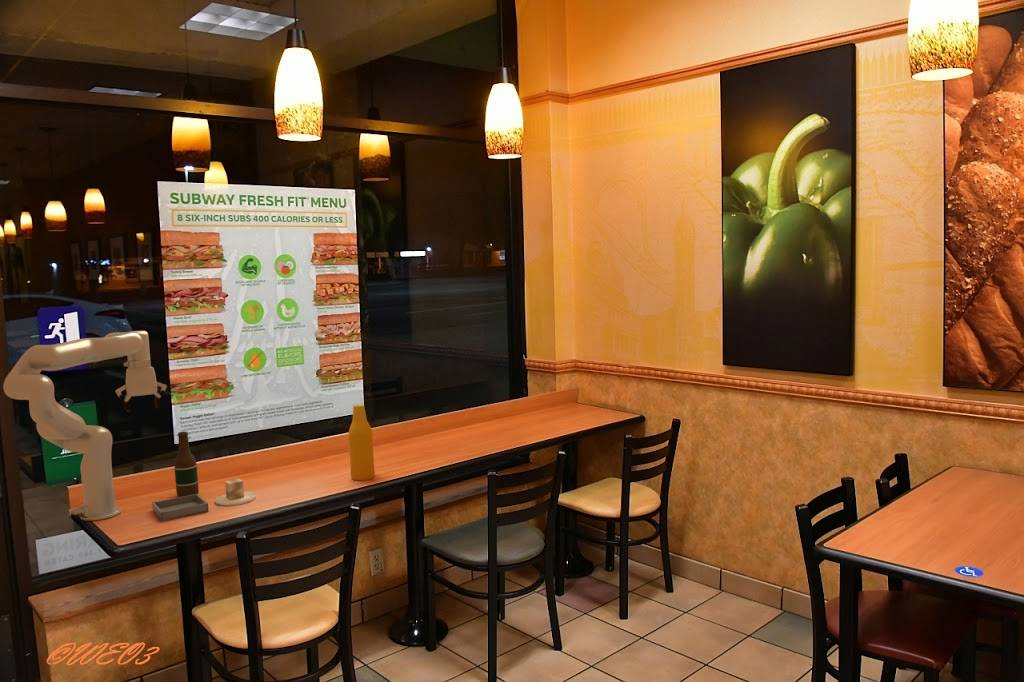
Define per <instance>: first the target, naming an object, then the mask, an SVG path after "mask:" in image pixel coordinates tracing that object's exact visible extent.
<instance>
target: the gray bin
mask: <svg viewBox="0 0 1024 682" xmlns="http://www.w3.org/2000/svg"><path fill="white" fill-rule="evenodd" d="M151 506H152V508H151V509H152V511H153V513H154V514H155V515H156V516H157V517H158V519H159V520H160V521H161V522H163V521H164V522H165V521H170V520H174V519H179V518H180V519H181V518H184V517H189V516H193V515H199V514H204V513H208V512H209V502H207V501H206V500H205V499H204V498H202V497H201V496H200V495H199V493H198V494H193V495H188V496H183V497H178V496H177V497H173V498H168V499H167V498H166V499H164V500H159V501H153V502H151Z"/></svg>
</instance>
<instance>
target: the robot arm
mask: <svg viewBox="0 0 1024 682" xmlns="http://www.w3.org/2000/svg"><path fill="white" fill-rule="evenodd" d="M150 350H151V349H150V341H149V333H148V332H147V331H146V330H131V331H127V332H123V331H122V332H121V331H120V332H119V331H118V332H110V333H107V334H106V335H105V336H104V337H84V338H80V339H79V338H78V339H75V340H74V339H73V340H70V341H66V342H65V341H64V342H60V343H59V342H58V343H55V344H36V345H33V346H31V347H29V348H28V349H27V350H26V351H25V352H24V353H23V354H22V355H21V357H20V358H18V361H17V362H16V363H15V365H14V366H13V368H12V369H11V370H10V372H9V373H8V374H7V376H6V377H5V379H4V381H3V386H2V387H3V388H2V389H3V391H4V394H5V395H6V396H7V397H9V398H10V399H13V400H20V401H21V400H22V401H24V400H25V401H28V406H29V407H28V408H29V415H30V418H31V419H32V420H33V422H35V423H36V427H35V428H36V431H37V432H38V435H39V436H40V437H41V438H43V439H44V440H46V441H48V442H50V443H51V444H54V445H55V446H58V447H60V448H61V449H64V450H65V451H67V452H71V453H79V454H80V453H82V454H83V457H82V459H81V462H80V475H81V485H82V487H81V488H82V497H83V498H82V499H83V503H81V505H80V506H79V507H74V508H70V509H68V512H69V514H68V515H69V516H71V515H74V516H76V515H80V514H81V513H82V514H84V516H85V517H86V516H87V517H88V518H82V517H80V516H79V518H80V520H82V521H89V522H91V521H99V520H104V519H105V520H106V519H109V518H112V517H116V516H118V515H119V514H120V513H121V511H122V510H121V507H118V506H116V499H115V498H116V497H115V488H114V478H113V477H114V476H113V466H112V447H113V435H112V433H111V431H110V430H109V429H107V428H106V427H104V426H100V425H90V424H89V425H87V424H86V422H85V420H84V419H83V418H82V417H81V416H80V415H79V414H77V413H75V412H73V411H72V410H70V409H68V408H66V407H64V406H63V405H62V404H59V402H57V400H56V398H55V385H54V382H53V381H52V379H51V378H50V377H48V376H47V375H45V374H42V373H41V372H42V371H60V370H63V369H64V370H65V369H69V368H71V367H72V368H73V367H75V366H80V365H85V364H88V363H89V364H90V363H97V362H101V361H104V360H105V361H106V360H111V359H116V358H123V357H126V356H127V361H126V362H123V367H127V368H126V371H125V384H123V386H121V387H119V388H117V389H116V390H115V393H116V395H117V396H118V398H120V400H122V401H124V409H125V411H126V412H128V413H131V412H132V411H131V410H132V409H131V403H130V399H131V398H132V397H138V396H139V397H140V396H146V395H147V396H149V395H154V396H155V397H154V405H155V409H158V410H159V409H160V407H161V397H162V396H163V395H164V393H165V392H166V389H167V388H168V386H167V384H164V383H161V382H158V381H157V377H156V372H155V368H154V366H152V364H151V353H150ZM158 387H161V389H160V391H159V392H158ZM124 390H125V391H126V395H125V396H124V395H123V394H122V392H123V391H124Z"/></svg>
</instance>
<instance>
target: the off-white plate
mask: <svg viewBox="0 0 1024 682" xmlns="http://www.w3.org/2000/svg"><path fill="white" fill-rule="evenodd" d="M256 495H257V494H256V493H255V492H252V491H244V498H239V499H234V500H229V499H228V498H227V497H226V493H225V494H222V495H220V496H217V497H216V498H215V499H214V503H215V505H217V506H221V507H229V506H231V507H232V506H240V505H244V504H248V503H250V502H253V501H255V499H256V498H257V496H256Z"/></svg>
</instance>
